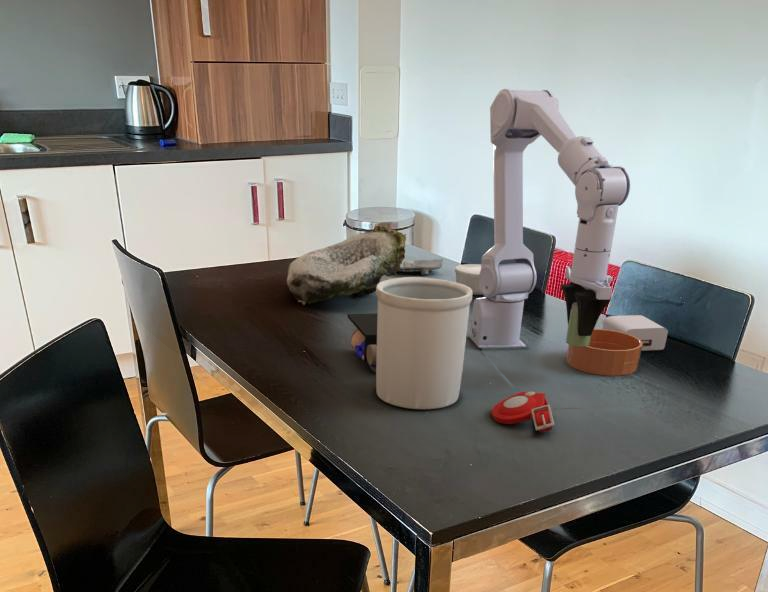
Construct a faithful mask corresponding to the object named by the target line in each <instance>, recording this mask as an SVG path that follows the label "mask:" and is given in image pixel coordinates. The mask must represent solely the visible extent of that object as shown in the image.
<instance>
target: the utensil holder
mask: <svg viewBox="0 0 768 592" xmlns="http://www.w3.org/2000/svg"><path fill="white" fill-rule="evenodd" d="M375 294H376V297H377V313H378V316H377V359H376V366H375V369H376V373H375V381H376V382H375V387H376V388H375V389H376V390H375V391H376V395H377V397H378V398H379V399H380V400H381V401H383V402H385V403H386V404H389V405H392V406H396V407H398V408H399V407H400V408H404V409H411V410H435V409H436V410H437V409H441V408H446V407H449V406H451V405H453V404H455V403H456V402H457V401H458V400H459V397H460V390H461V383H462V376H463V370H464V362H465V361H464V360H465V354H466V353H465V351H466V343H467V336H468V335H467V333H468V327H469V326H468V324H469V316H470V305H471V302H472V301H473V291H472V289H471V288H469V287H468V286H466V285H463V284H460V283H456V281H452V280H447V279H441V278H433V277H420V276H419V277H417V276H408V277H407V276H404V277H395V278H389V279H386V280H382V281H380V282H379V283H378V284H377V287H376V291H375Z"/></svg>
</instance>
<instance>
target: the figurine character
mask: <svg viewBox="0 0 768 592" xmlns="http://www.w3.org/2000/svg"><path fill="white" fill-rule="evenodd" d="M377 316H378V312H375V313H372V312H371V313H370V312H369V313H347V318H348V320H349V321H350V322H351V323H352V324H353V325H354V327H355V328H356V329H355V330H354V331H353V333H352V334H351V337H350V344H351V347H352V349H353V350H354V351H355V355H356V356H358V357H359V358H360V359H362V360H363V362H364V363H367V364H368V367H369V368H370V369H371V371H372V372H373V373H375V374H376V359H377Z"/></svg>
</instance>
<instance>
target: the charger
mask: <svg viewBox="0 0 768 592" xmlns="http://www.w3.org/2000/svg"><path fill="white" fill-rule="evenodd" d="M600 322H601V324H602V328H601V329H604V330H612V331H618V332H622V333H626V334H629V335H632V336H634V337H637V338H638V339H639V340H641V342H642V344H643V345H642V350H641V352H642V351H661V350H664V349H665V347H666V343H667V338H668V334H669V330H668V329H667V328H666V327H664V326H662V325H660V324H658V323H657V322H655V321H653V320H651V319H649V318H648V317H646V316H644V315H642V314H633V315H632V314H631V315H629V314H628V315H610V316H606V317H604V318H603V319H602V320H601V321H600Z"/></svg>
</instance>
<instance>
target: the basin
mask: <svg viewBox="0 0 768 592" xmlns="http://www.w3.org/2000/svg"><path fill="white" fill-rule="evenodd" d="M642 345H643V344H642V342H641V340H639V339H638V338H637V337H634V336H632V335H629V334H626V333H622V332H618V331H612V330H604V329H602V328H594V330H593V332H592V334H591V339H590V344H589V345H588V346H573V345H570V344H568V343H567V351H566V358H565V359H566V363H567V364H568V365H569V366H570V367H571V368H573V369H576V370H577V371H581V372H584V373H587V374H593V375H597V376H598V375H599V376H608V377H613V376H614V377H615V376H616V377H617V376H618V377H619V376H627V375H631V374H633V373H636V372H637V370H638V368H639V364H640V359H641V354H642V351H641V350H642Z"/></svg>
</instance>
